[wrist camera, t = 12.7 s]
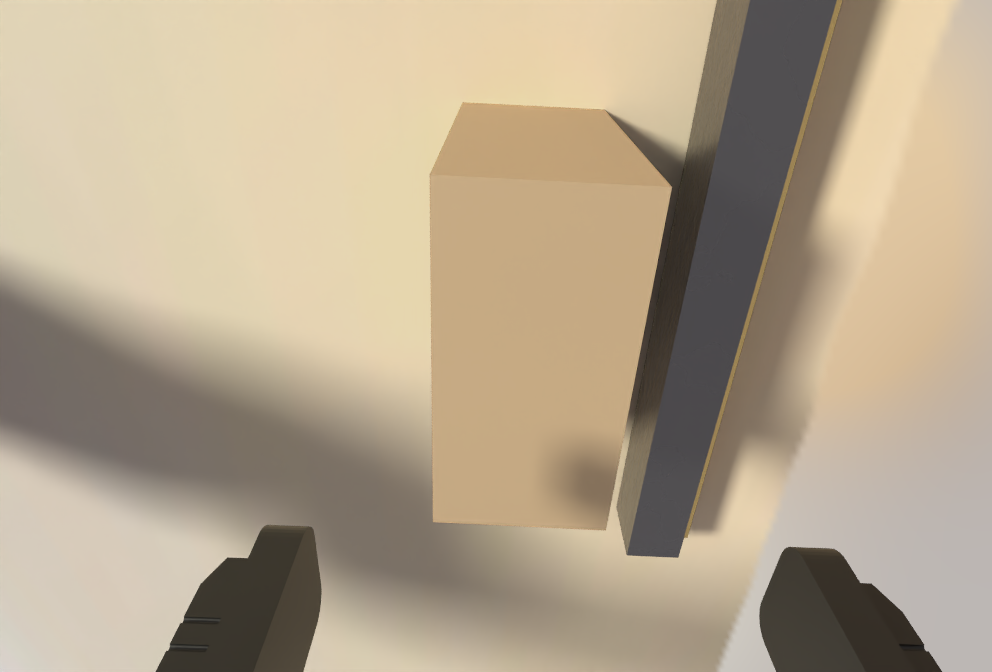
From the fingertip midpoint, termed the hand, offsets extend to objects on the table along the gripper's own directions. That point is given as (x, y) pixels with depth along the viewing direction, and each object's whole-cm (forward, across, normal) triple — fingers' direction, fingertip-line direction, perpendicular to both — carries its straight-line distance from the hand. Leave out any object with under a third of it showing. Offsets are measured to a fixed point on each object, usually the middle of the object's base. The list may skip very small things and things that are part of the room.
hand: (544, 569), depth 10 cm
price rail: (+15, -7, 0) cm, 17 cm away
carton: (+15, 0, 0) cm, 15 cm away
